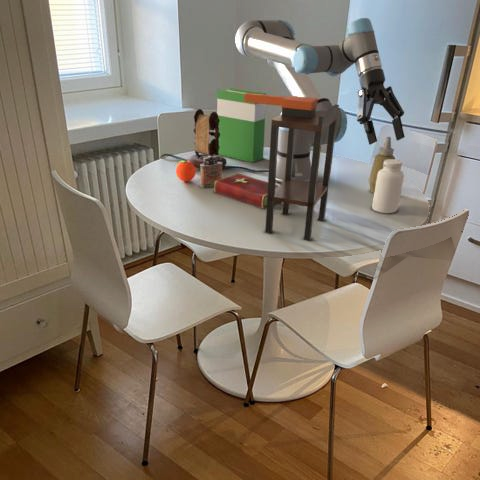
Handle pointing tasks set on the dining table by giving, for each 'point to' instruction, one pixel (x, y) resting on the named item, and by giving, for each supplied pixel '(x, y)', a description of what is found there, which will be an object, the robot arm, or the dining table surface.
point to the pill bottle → (388, 187)
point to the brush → (286, 104)
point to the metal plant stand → (291, 188)
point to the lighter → (210, 171)
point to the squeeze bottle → (380, 162)
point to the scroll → (205, 138)
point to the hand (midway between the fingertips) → (387, 141)
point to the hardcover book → (244, 189)
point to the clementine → (185, 171)
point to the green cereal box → (240, 125)
